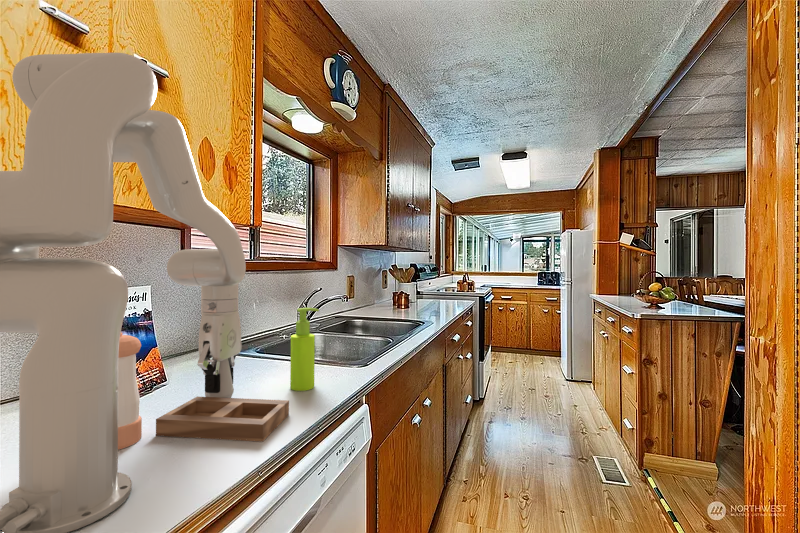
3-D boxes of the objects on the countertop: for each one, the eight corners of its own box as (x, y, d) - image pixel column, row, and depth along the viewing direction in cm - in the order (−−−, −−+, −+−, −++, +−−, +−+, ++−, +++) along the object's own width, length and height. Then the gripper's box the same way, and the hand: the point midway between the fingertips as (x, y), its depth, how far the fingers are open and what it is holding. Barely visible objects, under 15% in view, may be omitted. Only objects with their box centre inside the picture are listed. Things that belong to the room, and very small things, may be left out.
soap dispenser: (320, 389, 96) (320, 308, 96) (291, 392, 94) (291, 309, 94) (316, 382, 102) (317, 306, 101) (289, 384, 99) (290, 307, 99)
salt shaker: (222, 408, 83) (222, 348, 83) (198, 406, 84) (199, 346, 84) (238, 399, 88) (239, 342, 88) (216, 397, 90) (217, 341, 89)
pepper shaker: (78, 448, 64) (78, 334, 64) (120, 430, 71) (121, 327, 71) (111, 454, 62) (112, 336, 62) (151, 435, 69) (152, 329, 69)
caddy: (262, 441, 67) (262, 424, 67) (155, 435, 69) (155, 419, 69) (288, 415, 79) (289, 400, 79) (197, 410, 81) (197, 396, 81)
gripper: (214, 311, 77) (213, 402, 77) (254, 303, 94) (253, 378, 94) (179, 311, 78) (178, 401, 78) (224, 302, 95) (224, 376, 95)
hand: (219, 387), depth 86 cm, fingers open, 4 cm apart
